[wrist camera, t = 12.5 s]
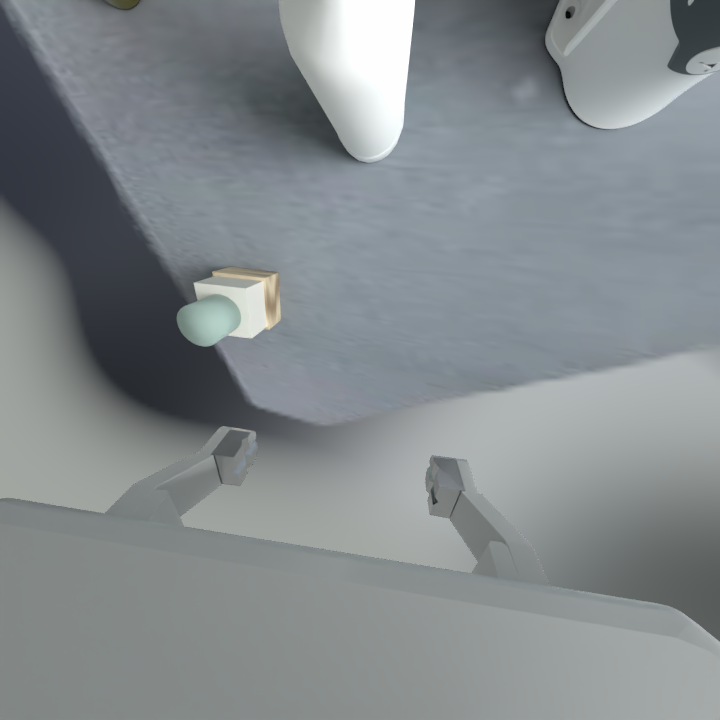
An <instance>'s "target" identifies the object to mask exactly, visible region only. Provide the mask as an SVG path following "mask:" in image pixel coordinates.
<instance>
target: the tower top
mask: <svg viewBox="0 0 720 720" xmlns="http://www.w3.org/2000/svg"><path fill="white" fill-rule="evenodd" d="M194 287H195V292H196V296H197V301H199V300H201V299H204V298H206V297H209V296H211V295H215V294H219V295H224V296H226V297H228V298H230V299H231V300H232V301H233V302H234V303H235V304H236V305H237V307H238V308H239V310H240V313H241V323H240V325H239V327H238V328H237V329H235V330H234V331H232V332H231V333H229V334H228V335H227V336H235V337H243V338H251V339H252V338H253V337H254V336H256V335H257V334H258V333H259V332H261V331H262V330H263V329H264V328H265V327H267V321H266V310H265V299H264V288H263V281H258V280H249V279H240V278H232V277H223V276H214V277H211V278H207V279H204V280H201V281H197V282H194Z"/></svg>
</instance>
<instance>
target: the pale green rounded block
mask: <svg viewBox="0 0 720 720" xmlns="http://www.w3.org/2000/svg"><path fill="white" fill-rule="evenodd" d="M177 323H178V327H179V329H180V331H181V332H182V334H183V335H184V336H185V337H186V338H187V339H188V340H189V341H191V342H192V343H194V344H197V345H200V346H211V345H213V344H215V343H216V342H218V341H219V340H221V339H222V338H224V337H225V336H227V335H228V334H229V333H231V332H232V331H234V330H235V329H237V328H238V327H239V325H240V323H241V313H240V310H239V308H238V307H237V305H236V304H235V303H234V302H233V301H232V300H231V299H230V298H228V297H226V296H224V295H219V294H215V295H211V296H209V297H206V298H204V299H201V300H199V301H196V302H194V303H191V304H189V305H186V306H184V307H182V308H181V309H180V310H179V312H178V314H177Z"/></svg>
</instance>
